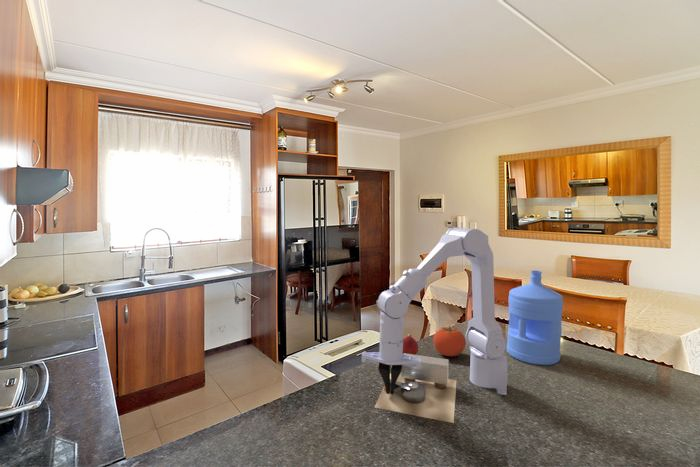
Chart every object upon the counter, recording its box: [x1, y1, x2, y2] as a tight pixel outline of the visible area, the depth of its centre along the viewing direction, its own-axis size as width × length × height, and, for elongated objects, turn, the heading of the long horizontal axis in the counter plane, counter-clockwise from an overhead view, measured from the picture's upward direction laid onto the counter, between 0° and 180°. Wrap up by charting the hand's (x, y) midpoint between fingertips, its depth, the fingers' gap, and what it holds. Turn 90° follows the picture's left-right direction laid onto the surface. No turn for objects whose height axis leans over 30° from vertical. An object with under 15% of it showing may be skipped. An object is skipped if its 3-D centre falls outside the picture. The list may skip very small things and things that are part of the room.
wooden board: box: [374, 372, 457, 424], centre depth 89 cm, size 18×20×3 cm
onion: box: [403, 333, 419, 355], centre depth 111 cm, size 6×6×8 cm
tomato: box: [432, 325, 467, 357], centre depth 114 cm, size 10×10×10 cm
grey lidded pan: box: [383, 379, 426, 403], centre depth 88 cm, size 11×6×3 cm, turn 59°
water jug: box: [506, 270, 564, 366], centre depth 114 cm, size 16×16×28 cm
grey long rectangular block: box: [401, 353, 450, 385], centre depth 93 cm, size 12×4×5 cm, turn 71°
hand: (390, 392), depth 87 cm, fingers closed
